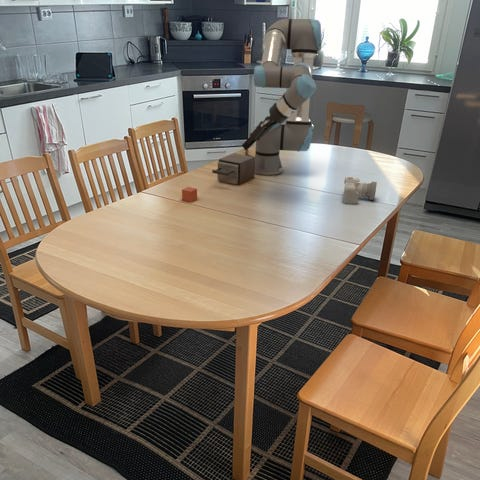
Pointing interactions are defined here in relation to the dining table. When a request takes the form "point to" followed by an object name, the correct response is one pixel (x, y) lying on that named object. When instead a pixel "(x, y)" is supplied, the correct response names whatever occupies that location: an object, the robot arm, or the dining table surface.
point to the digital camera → (357, 190)
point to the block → (189, 194)
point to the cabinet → (242, 166)
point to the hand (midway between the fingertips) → (244, 147)
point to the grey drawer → (227, 172)
